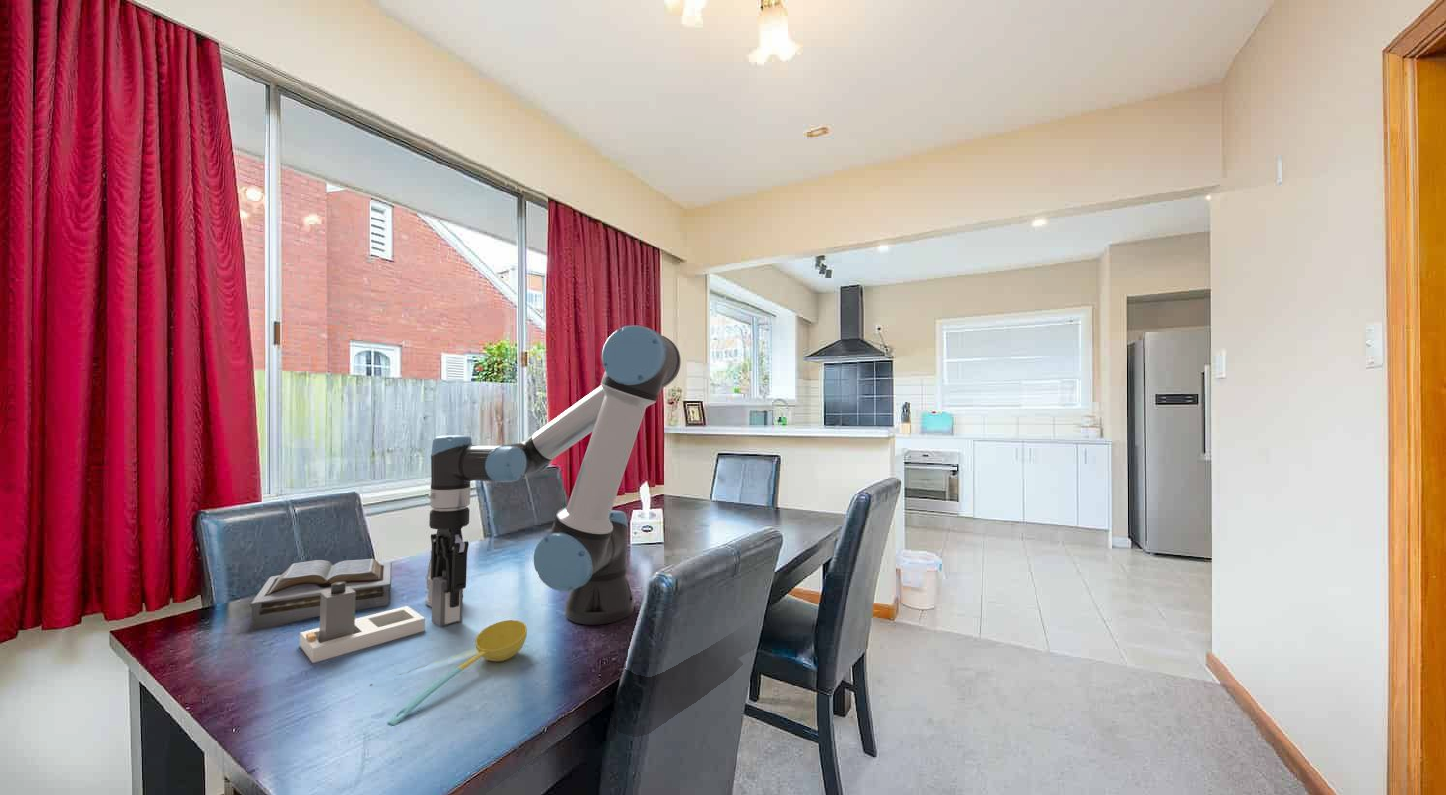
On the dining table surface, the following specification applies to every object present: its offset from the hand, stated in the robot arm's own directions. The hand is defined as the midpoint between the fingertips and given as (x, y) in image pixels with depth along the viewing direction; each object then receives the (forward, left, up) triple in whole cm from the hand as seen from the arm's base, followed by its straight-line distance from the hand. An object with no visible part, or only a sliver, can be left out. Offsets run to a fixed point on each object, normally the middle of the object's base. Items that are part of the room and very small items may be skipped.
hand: (446, 618), depth 108 cm
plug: (0, 0, -1) cm, 1 cm away
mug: (+14, -4, -2) cm, 15 cm away
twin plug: (+3, +18, 0) cm, 19 cm away
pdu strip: (+3, +14, -1) cm, 14 cm away
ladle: (-26, +7, -2) cm, 27 cm away
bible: (+32, +13, -2) cm, 35 cm away
